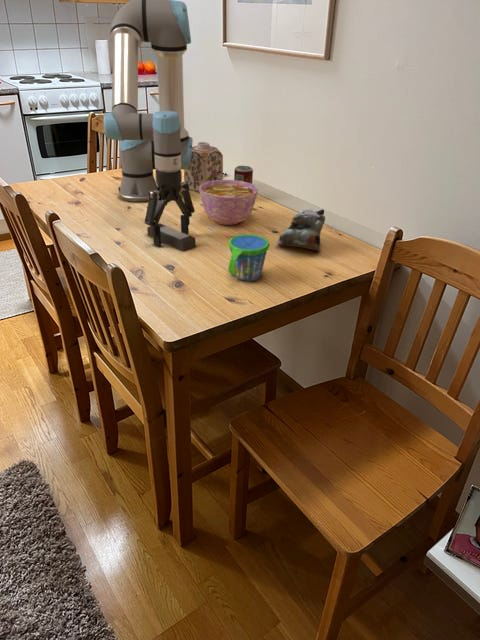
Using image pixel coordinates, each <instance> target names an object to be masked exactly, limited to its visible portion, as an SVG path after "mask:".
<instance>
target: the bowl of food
mask: <svg viewBox="0 0 480 640" xmlns="http://www.w3.org/2000/svg"><path fill="white" fill-rule="evenodd" d="M199 190H200V192H199V194H200V195H199V196H200V199H201V203H202V207H203V210H204V213H205V214H206V215H207V217H208V218H210V219H211V220H213V221H215V222H216V223H218V224H220V225H224V226H234V225H237V224H239V223H241V222H244V221H245V220H247V219H248V218H249V217H250V216H251V214H252V212H253V210H254V207H255V204H256V200H257V197H258V193H259V188H258V187H257V186H256V185H255V184H253V183H252V184H250V183H248V182H243V181H236V180H234V179H223V180H215V181H210V182H206V183H204V184H202V185H201V186H200V187H199Z"/></svg>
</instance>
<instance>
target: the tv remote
mask: <svg viewBox="0 0 480 640" xmlns="http://www.w3.org/2000/svg"><path fill="white" fill-rule="evenodd" d="M158 225H159V226H160V232H161V243H164V244H167V245H168V246H170V247H174V248H175V249H178V250H179V251H182V252H184V251H187V250H189V249H193V248H195V247H196V246H197V243H196V242H197V238H196V237H194V236H192V235H190V234H189V235H187V234H185V233H182V232H181V230H180V231H179V230H177V229H175V228H172V227H170V226H167V225H165V224H164V223H161V222H159V223H158ZM146 231H147V236H148V237H150V238H153V235H152V234H151V226H150V225H149V226H147V227H146Z"/></svg>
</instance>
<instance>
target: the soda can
mask: <svg viewBox="0 0 480 640" xmlns="http://www.w3.org/2000/svg"><path fill="white" fill-rule="evenodd" d="M233 174H234V176H233V177H234V178H233V180H236V181H243V182H248V183H250V184H253V176H254V169H253V168H252V167H251V166H249V165H238V166H236V167H235V168H234V173H233Z"/></svg>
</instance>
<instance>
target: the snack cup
mask: <svg viewBox="0 0 480 640" xmlns="http://www.w3.org/2000/svg"><path fill="white" fill-rule="evenodd" d="M228 247H229V250H230V253H231V254H230V258H229V263H228V269H227V270H228V273H229V274H230V275H232V276H234V277H235V278H236V279H238V280H239V281H245V282H255V281H256V280H258V279H260V277H262V274H263V269H264V266H265V265H264V264H265V260H266V256H267V253H268V250H269V248H270V243H269V241H268V239H266V238H265V237H263V236H261V235H257V234H238V235H234V236H233V237H231V238H230V239H229V241H228Z"/></svg>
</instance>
